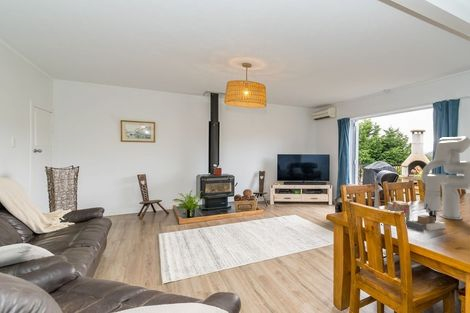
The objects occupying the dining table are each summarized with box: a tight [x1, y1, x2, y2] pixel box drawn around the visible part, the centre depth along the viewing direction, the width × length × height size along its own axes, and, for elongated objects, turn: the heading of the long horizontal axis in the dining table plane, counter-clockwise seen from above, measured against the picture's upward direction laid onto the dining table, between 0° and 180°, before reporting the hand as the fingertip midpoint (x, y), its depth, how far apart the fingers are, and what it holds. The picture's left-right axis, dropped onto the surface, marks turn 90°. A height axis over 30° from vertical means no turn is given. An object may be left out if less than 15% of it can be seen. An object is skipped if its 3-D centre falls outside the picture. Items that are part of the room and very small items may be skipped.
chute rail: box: [425, 221, 446, 231], centre depth 150 cm, size 14×2×4 cm, turn 107°
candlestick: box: [373, 180, 380, 210], centre depth 165 cm, size 13×13×30 cm
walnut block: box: [417, 214, 436, 229], centre depth 154 cm, size 7×6×7 cm
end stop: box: [405, 220, 425, 232], centre depth 151 cm, size 2×10×4 cm, turn 17°
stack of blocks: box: [387, 200, 411, 221], centre depth 177 cm, size 21×6×12 cm, turn 168°
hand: (432, 220), depth 155 cm, fingers closed
